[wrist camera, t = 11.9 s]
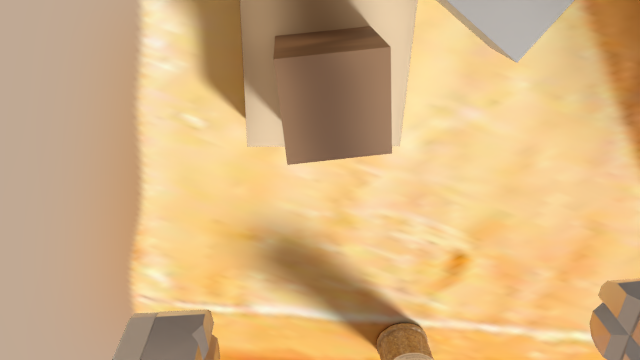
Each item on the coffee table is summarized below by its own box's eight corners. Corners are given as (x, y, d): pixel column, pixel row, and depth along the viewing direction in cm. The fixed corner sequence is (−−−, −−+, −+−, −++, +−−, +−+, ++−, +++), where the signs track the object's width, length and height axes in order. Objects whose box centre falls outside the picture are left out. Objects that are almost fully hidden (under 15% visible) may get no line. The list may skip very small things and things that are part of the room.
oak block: (401, -25, 26) (419, -18, 23) (386, 121, 31) (399, 146, 27) (244, -29, 26) (238, -23, 22) (251, 121, 30) (247, 146, 27)
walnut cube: (370, 26, 24) (390, 46, 19) (373, 116, 26) (391, 153, 22) (274, 35, 24) (273, 59, 19) (286, 125, 26) (287, 164, 22)
